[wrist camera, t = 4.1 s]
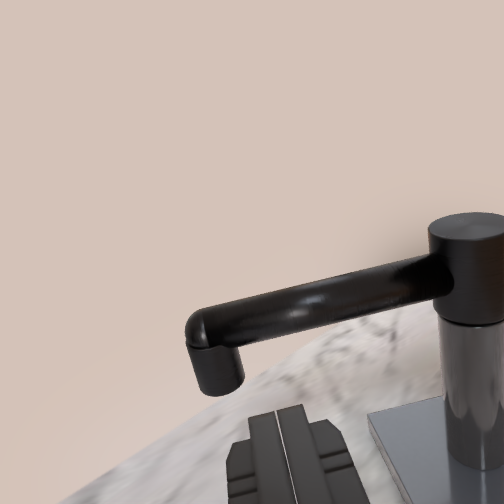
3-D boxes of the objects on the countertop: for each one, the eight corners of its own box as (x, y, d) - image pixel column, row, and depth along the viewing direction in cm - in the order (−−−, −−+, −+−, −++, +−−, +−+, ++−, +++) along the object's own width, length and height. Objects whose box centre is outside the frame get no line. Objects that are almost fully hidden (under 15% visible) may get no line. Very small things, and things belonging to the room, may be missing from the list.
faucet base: (435, 563, 23) (419, 390, 19) (368, 429, 32) (348, 294, 28) (627, 512, 23) (653, 332, 19) (506, 394, 33) (506, 256, 29)
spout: (199, 411, 22) (167, 315, 20) (199, 365, 26) (173, 280, 24) (531, 328, 22) (534, 226, 20) (484, 295, 26) (482, 206, 24)
